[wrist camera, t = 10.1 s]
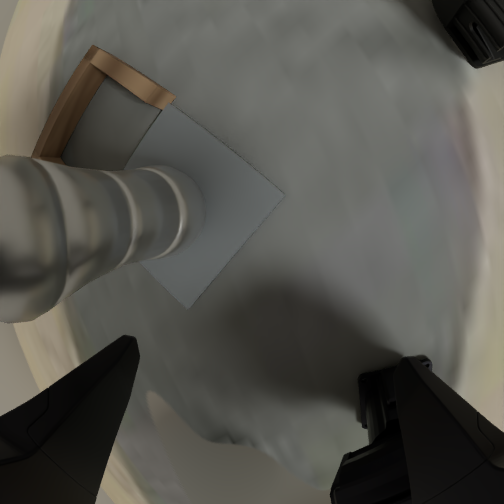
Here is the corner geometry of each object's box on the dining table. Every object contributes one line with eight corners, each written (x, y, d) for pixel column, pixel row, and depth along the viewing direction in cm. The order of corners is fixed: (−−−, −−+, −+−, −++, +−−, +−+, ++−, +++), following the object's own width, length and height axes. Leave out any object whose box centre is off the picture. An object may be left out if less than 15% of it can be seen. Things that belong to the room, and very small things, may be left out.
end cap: (484, -4, 11) (508, -36, 5) (526, 54, 11) (561, 31, 5) (420, 6, 14) (440, -38, 7) (470, 71, 14) (508, 39, 8)
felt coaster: (285, 194, 20) (285, 195, 20) (189, 308, 24) (187, 309, 23) (170, 103, 21) (168, 102, 20) (99, 215, 24) (97, 216, 24)
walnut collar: (176, 96, 20) (157, 85, 18) (97, 221, 24) (75, 225, 22) (111, 54, 21) (92, 44, 18) (49, 162, 25) (29, 161, 22)
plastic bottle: (153, 158, 21) (-110, 145, 2) (228, 183, 20) (-113, 188, 1) (132, 232, 23) (-101, 302, 4) (201, 264, 22) (-53, 419, 3)
